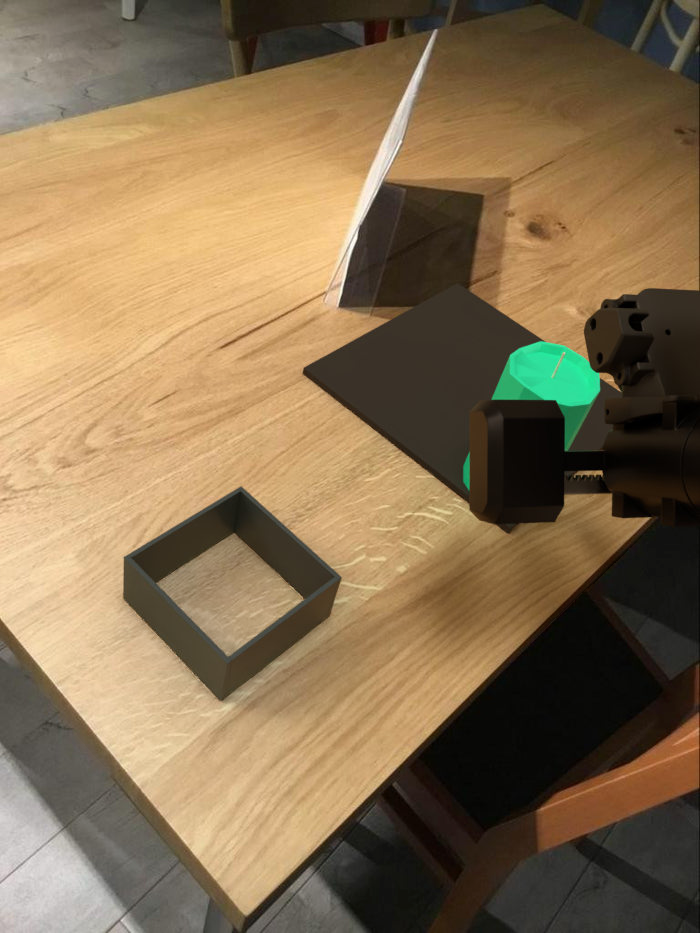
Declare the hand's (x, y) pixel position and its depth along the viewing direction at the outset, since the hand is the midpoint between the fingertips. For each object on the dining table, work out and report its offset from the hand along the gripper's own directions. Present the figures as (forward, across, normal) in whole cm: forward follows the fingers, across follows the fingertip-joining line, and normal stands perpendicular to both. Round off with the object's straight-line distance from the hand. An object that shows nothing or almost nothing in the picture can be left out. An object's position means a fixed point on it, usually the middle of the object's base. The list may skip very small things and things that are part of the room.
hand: (560, 454), depth 54 cm
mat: (+16, -1, -4) cm, 16 cm away
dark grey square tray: (+2, +20, +9) cm, 22 cm away
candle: (+8, 0, +2) cm, 9 cm away
